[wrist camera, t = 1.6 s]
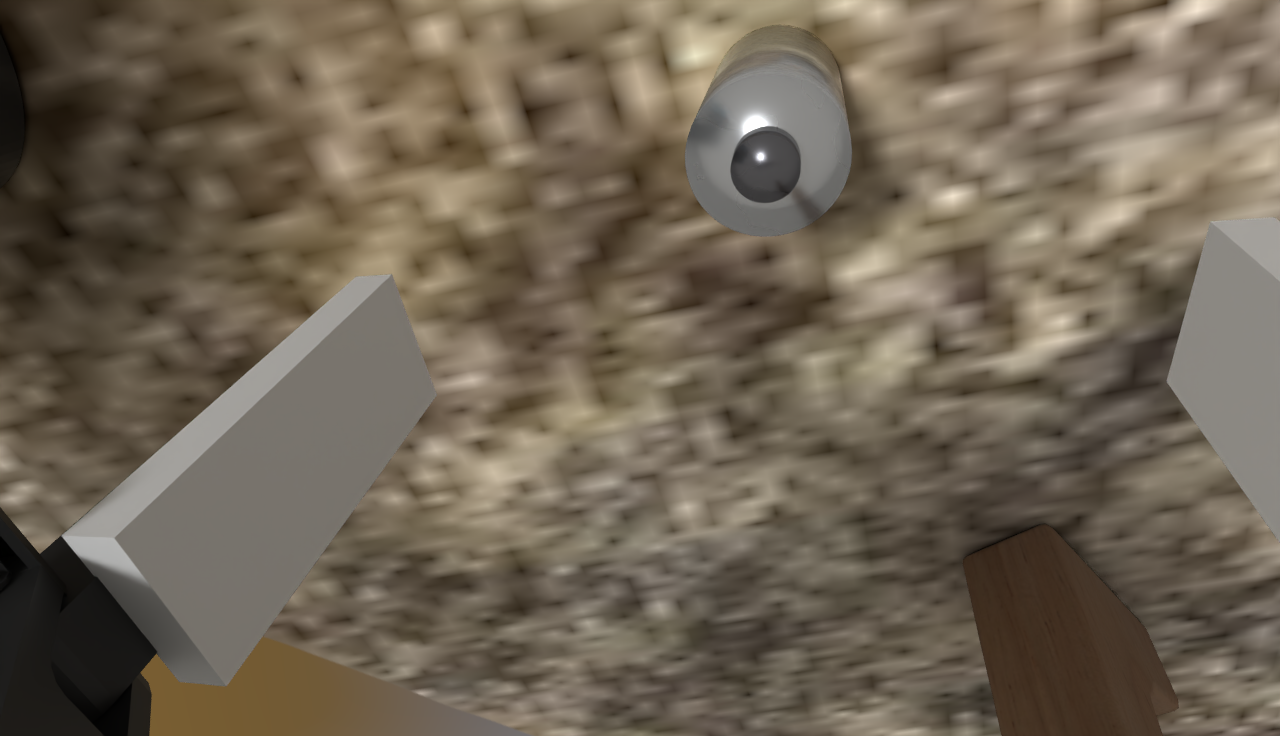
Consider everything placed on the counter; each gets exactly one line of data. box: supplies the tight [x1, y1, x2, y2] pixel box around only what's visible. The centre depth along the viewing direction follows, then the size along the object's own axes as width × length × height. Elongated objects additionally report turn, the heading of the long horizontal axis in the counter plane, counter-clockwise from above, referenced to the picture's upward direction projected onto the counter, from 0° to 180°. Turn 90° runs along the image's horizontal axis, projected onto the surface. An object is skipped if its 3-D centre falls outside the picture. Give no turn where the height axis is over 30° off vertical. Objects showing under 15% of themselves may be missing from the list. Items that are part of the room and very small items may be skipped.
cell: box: [685, 25, 852, 236], centre depth 22 cm, size 4×4×8 cm
